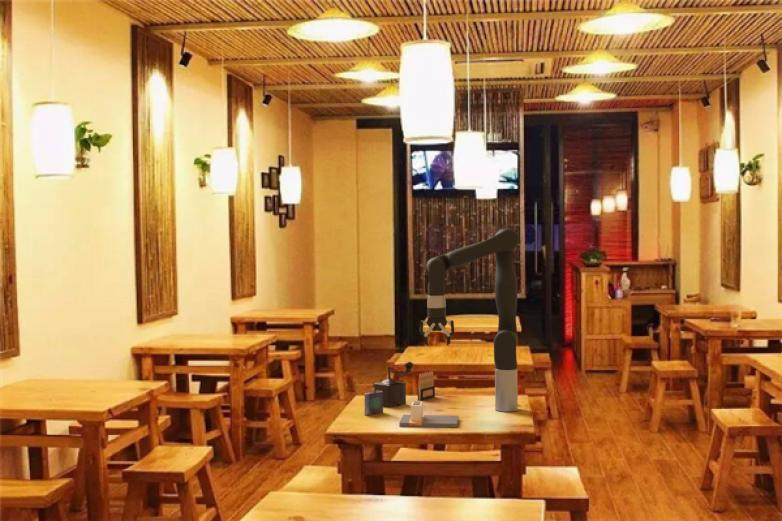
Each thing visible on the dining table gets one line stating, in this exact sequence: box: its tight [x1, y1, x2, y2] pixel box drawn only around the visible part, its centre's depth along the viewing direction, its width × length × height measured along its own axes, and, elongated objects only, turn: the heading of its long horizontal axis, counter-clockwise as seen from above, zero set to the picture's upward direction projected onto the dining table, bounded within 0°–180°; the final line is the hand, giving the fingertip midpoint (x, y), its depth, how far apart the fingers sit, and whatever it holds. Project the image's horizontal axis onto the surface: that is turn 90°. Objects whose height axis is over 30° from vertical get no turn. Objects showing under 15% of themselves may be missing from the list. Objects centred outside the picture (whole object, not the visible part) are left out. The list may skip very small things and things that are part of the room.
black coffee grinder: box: [372, 361, 414, 409], centre depth 404 cm, size 16×11×18 cm
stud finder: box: [410, 401, 424, 421], centre depth 365 cm, size 4×8×6 cm, turn 173°
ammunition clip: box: [417, 370, 436, 402], centre depth 414 cm, size 11×2×12 cm, turn 142°
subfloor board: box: [398, 414, 460, 429], centre depth 365 cm, size 22×15×2 cm
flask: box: [363, 387, 384, 417], centre depth 383 cm, size 9×3×11 cm, turn 129°
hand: (437, 345), depth 385 cm, fingers open, 8 cm apart
